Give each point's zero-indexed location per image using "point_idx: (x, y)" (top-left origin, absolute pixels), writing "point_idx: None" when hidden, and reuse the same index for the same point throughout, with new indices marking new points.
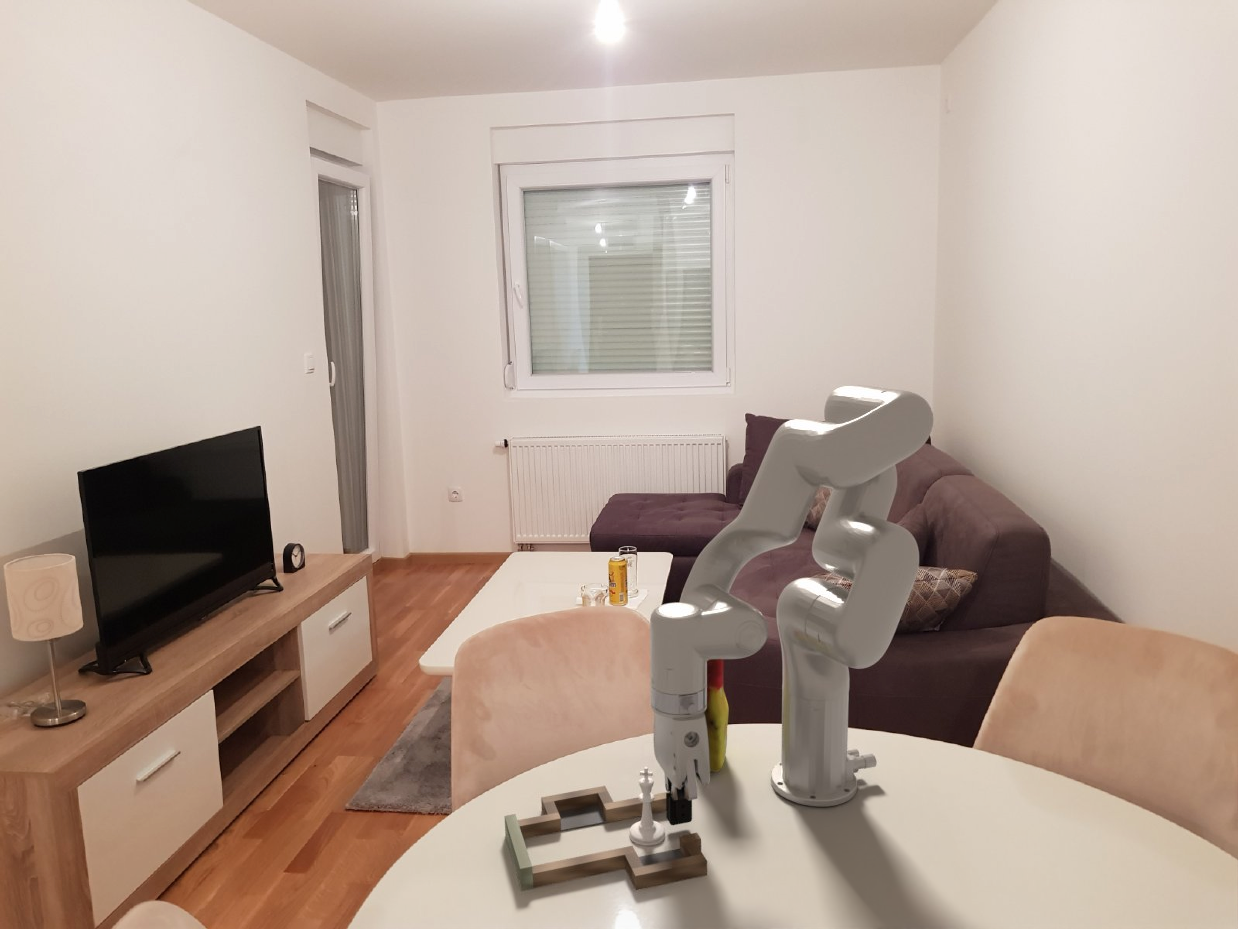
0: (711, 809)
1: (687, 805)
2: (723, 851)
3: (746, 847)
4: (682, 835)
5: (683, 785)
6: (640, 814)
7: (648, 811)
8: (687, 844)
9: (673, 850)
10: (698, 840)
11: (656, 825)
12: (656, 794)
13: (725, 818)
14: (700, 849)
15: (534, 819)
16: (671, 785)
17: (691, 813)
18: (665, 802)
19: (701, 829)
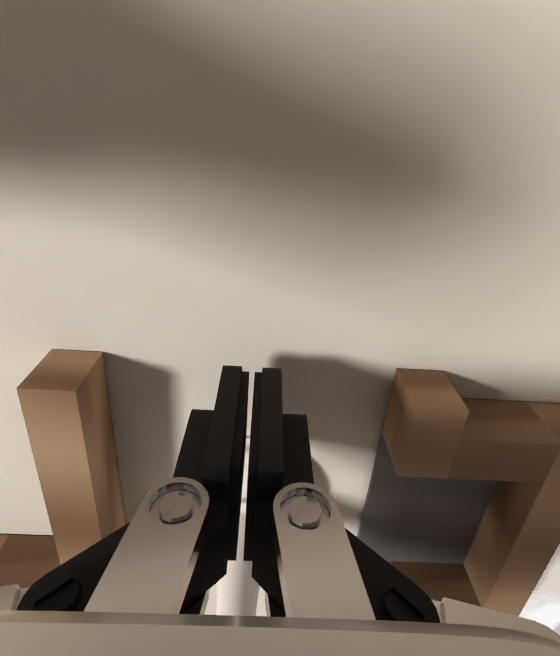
0: (143, 177)
1: (309, 470)
2: (489, 285)
3: (534, 165)
4: (401, 466)
5: (204, 529)
6: (116, 480)
7: (256, 594)
8: (468, 470)
9: (384, 457)
10: (465, 420)
11: (244, 486)
12: (36, 451)
13: (253, 142)
14: (447, 382)
15: None
16: (196, 598)
17: (280, 391)
18: (89, 414)
19: (293, 302)
